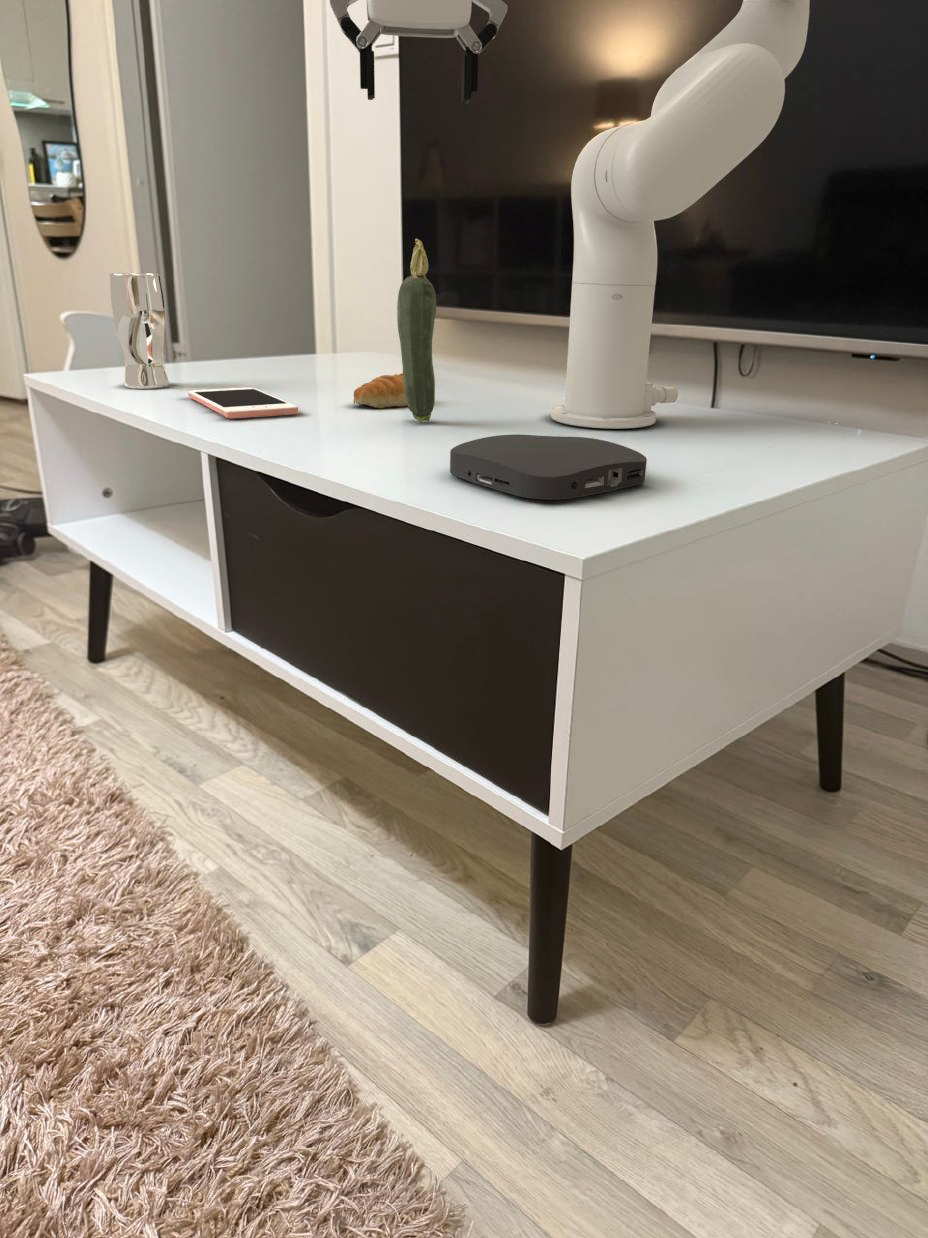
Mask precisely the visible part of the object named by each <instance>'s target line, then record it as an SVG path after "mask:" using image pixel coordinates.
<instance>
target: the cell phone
mask: <svg viewBox="0 0 928 1238" xmlns="http://www.w3.org/2000/svg"><path fill="white" fill-rule="evenodd" d="M187 395H188V396H187V397H188V398H190V399H192V400H194V401H195V402H197V403H199V404H201V405H204V406H205V407H207V408H208V409H210V410H212V411H214V412H216V413H218V414H219V415H221V416H223V417H225V418H226V419H246V418H260V417H274V416H275V417H276V416H288V415H297V414H299V406H298V405H296V404H293V403H291V402H289V401H286V400H284V399H281V398H280V397H277V396H275V395H272V394H270V393H267V392H265V391H262V390H260V389H258V388H255V387H251V386H250V387H248V386H247V387H246V386H245V387H230V388H229V387H228V388H227V387H226V388H209V389H193V390H188V391H187Z"/></svg>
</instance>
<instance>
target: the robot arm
mask: <svg viewBox="0 0 928 1238" xmlns="http://www.w3.org/2000/svg"><path fill="white" fill-rule="evenodd" d="M358 1H359V0H329V5H330V8H331V10H332V12H333V15H334V16H335V19H336V21H337V23H338V25H339V28H340V29H341V31H342V33H343V35H344V36H345V37H346V38H347V39H348V41H350V43H351V44H352V45H353V46H354V47H355V49H356V50H357V52H358V53H359V77H360V78H359V83H360V85H359V86H360V90H366V91H367V95H366V96H367V100H368V101H373V100H374V99H376V88H375V86H376V85H375V84H376V83H375V80H376V79H375V78H376V77H375V51H374V50H373V46H374V44H376V42H377V40H378V39H379V37H380V36H381V35H384V36H392V37H393V36H396V37H416V38H437V39H438V38H439V39H450V38H451V39H452V38H456V41H458V42H459V44H460V46H461V47H462V48H463V51H464V54H463V57H462V60H461V61H462V62H461V63H462V65H461V66H462V67H461V102H462V103H463V104H469V103H471V100H472V94H477V93H478V89H479V88H478V87H479V86H478V84H479V83H478V82H479V56H480V54H481V53H482V52H483V51H484V50H485V49H486V48H487V47H488V46H489V44H490V43H491V42H492V41H494V39H495V37H496V35H497V33H498V31H499V29H500V27H501V25H502V23H503V21H504V19H505V17H506V15H507V12H508V10H509V9H508V7H509V6H508V4H506V2H504V1H503V0H366V14H367V23H366V24H365V25H364V27H363V29H360V28H359V26H357V24H356V23H355V22H354V21H353V19H352V18H351V16H350V13H349V11H348V9H349V6H351V5H353V4H355V3H356V2H358ZM810 1H811V0H742V2H741V3H742V4H741V7H740V10H739V11H738V12H737V14H736V15H735V17H734V18H733V19H731V21H730V22H729V23H728V24H727V25H726V26H724V27H723V28H722V30H721V31H719V33H718V34H717V35H715V36H714V37H713V38H712V39H711V40H710V41H709V42H708V43H706V44H705V45H704V46H703V47H701V49H700V50H698V51H697V52H696V53H695V54H694V55H693V56H692V57H691V58H689V59H688V60H687V61H686V62H685V63H683V64H682V65H681V66H679V67H678V68H677V69H676V70H674V71H673V73H671V74H670V76H669V77H667V78H666V80H665V81H664V82H663V84H662V85H661V87H660V88H659V90H658V92H657V94H656V95H655V98H654V101H653V104H652V107H651V113H650V117H648V118H646V119H644V120H640V121H637V122H630V123H627V124H622V125H619V126H615V127H612V128H609V129H607V130H604V131H602V132H600V133H598V134H597V135H595V136H594V137H593V138H591V140H589V141H588V142H587V143H586V145H585V146H584V147H583V148H582V150H581V151H580V153H579V154H578V156H577V159H576V161H575V164H574V167H573V170H572V176H571V183H570V184H571V185H570V192H571V193H570V198H571V210H572V211H571V212H572V221H573V263H572V279H571V298H570V310H569V311H570V313H569V327H568V328H569V329H568V343H567V344H568V346H567V348H568V349H567V362H566V377H565V394H564V404H560V405H557V406H553V407H552V409H551V412H550V418H551V419H552V420H553V421H554V422H558V423H560V424H564V425H570V426H574V427H580V428H581V427H582V428H590V429H591V428H592V429H608V430H613V429H614V430H617V429H620V430H621V429H623V430H624V429H626V430H627V429H637V428H645V427H648V426H652V425H654V424H655V423H656V422H657V413H656V412H655V411H654V410H652V407H654V406H656V404H671V403H675V402H676V401H677V400H678V397H679V393H678V390H677V388H676V387H675V386H662V387H658V388H657V387H656V386H655V385H654V383H653V382H649V381H647V378H648V367H649V357H650V346H651V337H652V336H651V335H652V325H653V324H652V323H653V314H654V304H655V292H656V285H657V273H658V243H657V235H656V228H655V221H662V220H666V219H670V218H673V217H675V216H677V215H679V214H681V213H682V212H684V211H686V210H687V209H689V208H690V207H691V206H693V205H694V204H695V203H696V202H697V201H699V200H700V199H701V198H702V197H703V196H705V195H706V194H707V193H708V192H709V191H710V190H711V189H712V188H714V187H715V186H716V185H717V184H719V182H720V181H721V180H723V179H724V178H725V177H726V176H727V175H728V174H729V173H731V171H732V170H734V169H735V168H736V167H737V166H738V165H739V164H740V163H742V162H743V160H745V159H746V158H748V156H749V155H751V154H752V153H753V151H754V150H755V149H757V148H758V147H759V146H760V145H761V143H763V141H764V140H765V139H766V138H767V137H768V135H769V134H770V133H771V131H772V130H773V128H775V126H776V123H777V121H778V120H779V117H780V115H781V112H782V110H783V105H784V101H785V94H786V81H785V79H786V78H788V76H789V75H790V74H791V73H792V72H793V70H794V69H795V68H796V67H797V65H798V63H799V61H800V60H801V58H802V56H803V54H804V50H805V47H806V43H807V36H808V31H809V22H810V21H809V20H810ZM472 4H475V5H477V6H478V7H480V8H481V9H482V10H484V11H485V12H487V13H488V15H489V18H488V21H487V23H486V25H485V27H484V28H482V30H481V31H480V32H479V33H478V34H476V33H475V31H474V30H473V28H472V26H471V25H470V21H471V16H472V6H473V5H472Z"/></svg>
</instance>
